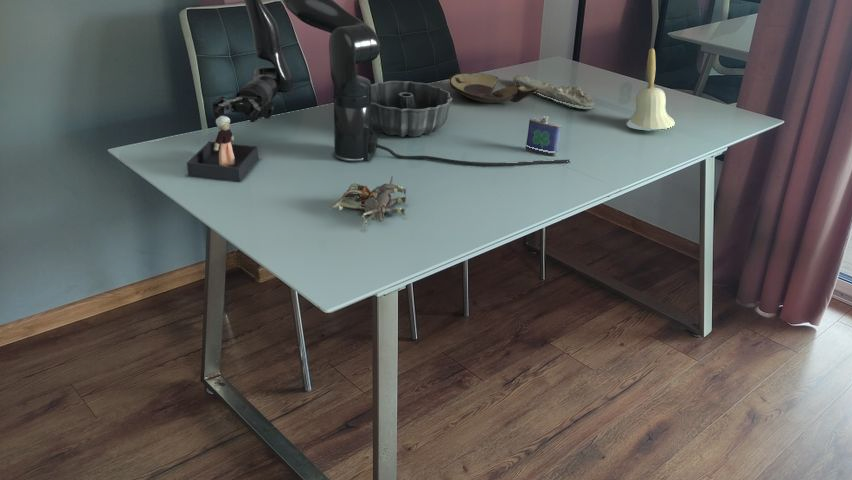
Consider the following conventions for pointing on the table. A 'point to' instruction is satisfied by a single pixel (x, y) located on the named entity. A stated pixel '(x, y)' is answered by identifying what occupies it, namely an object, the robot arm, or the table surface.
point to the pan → (209, 167)
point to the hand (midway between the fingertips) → (234, 116)
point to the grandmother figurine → (224, 142)
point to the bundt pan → (408, 108)
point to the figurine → (372, 200)
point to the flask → (543, 136)
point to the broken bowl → (487, 88)
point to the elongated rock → (555, 91)
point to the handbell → (651, 102)
